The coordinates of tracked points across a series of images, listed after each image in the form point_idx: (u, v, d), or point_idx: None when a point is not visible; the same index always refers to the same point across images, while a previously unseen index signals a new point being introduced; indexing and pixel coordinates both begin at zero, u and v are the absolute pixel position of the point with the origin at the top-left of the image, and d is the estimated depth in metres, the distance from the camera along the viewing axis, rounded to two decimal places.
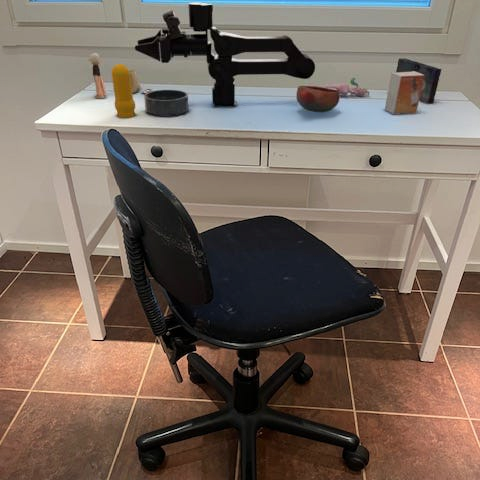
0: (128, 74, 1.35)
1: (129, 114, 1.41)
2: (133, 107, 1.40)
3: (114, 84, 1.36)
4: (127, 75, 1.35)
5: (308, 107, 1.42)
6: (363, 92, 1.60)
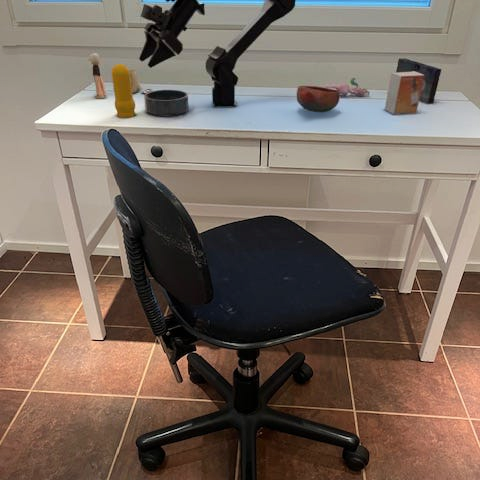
0: (128, 74, 1.35)
1: (129, 114, 1.41)
2: (133, 107, 1.40)
3: (114, 84, 1.36)
4: (127, 75, 1.35)
5: (308, 107, 1.42)
6: (363, 92, 1.60)
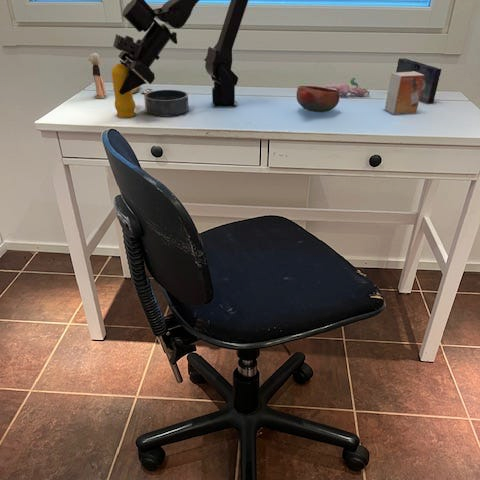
0: None
1: (129, 114, 1.41)
2: (133, 107, 1.40)
3: (114, 84, 1.36)
4: None
5: (308, 107, 1.42)
6: (363, 92, 1.60)
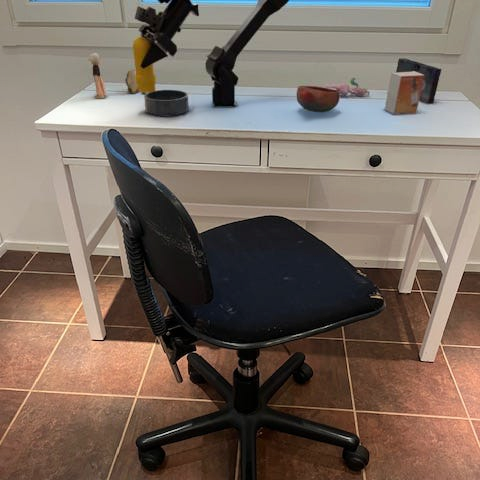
0: None
1: (150, 89, 1.39)
2: (154, 82, 1.38)
3: (135, 58, 1.34)
4: None
5: (308, 107, 1.42)
6: (363, 92, 1.60)
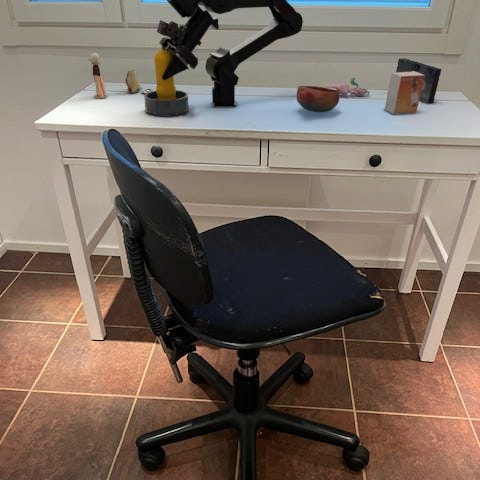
0: None
1: None
2: (174, 93, 1.42)
3: (157, 70, 1.38)
4: None
5: (308, 107, 1.42)
6: (363, 92, 1.60)
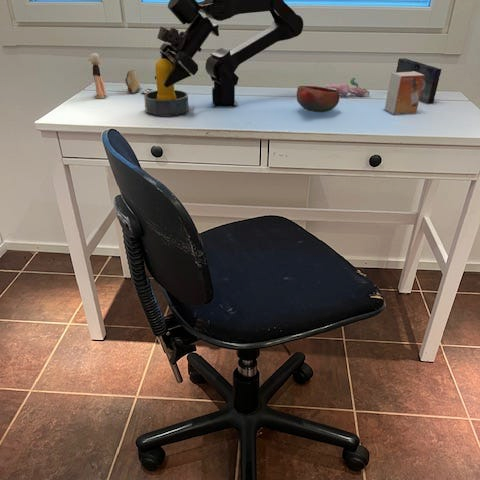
0: (171, 68, 1.38)
1: None
2: None
3: (157, 78, 1.39)
4: None
5: (308, 107, 1.42)
6: (363, 92, 1.60)
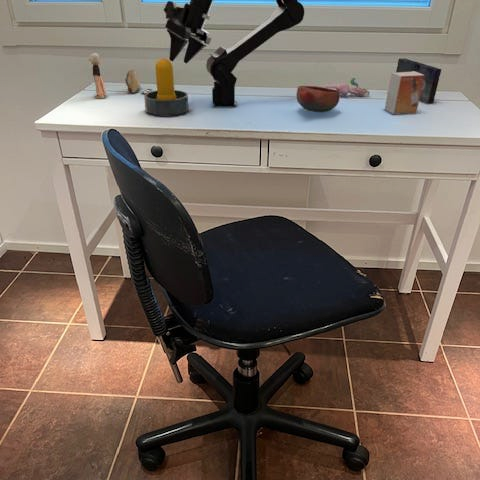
0: (171, 68, 1.38)
1: None
2: None
3: (157, 78, 1.39)
4: (171, 70, 1.38)
5: (308, 107, 1.42)
6: (363, 92, 1.60)
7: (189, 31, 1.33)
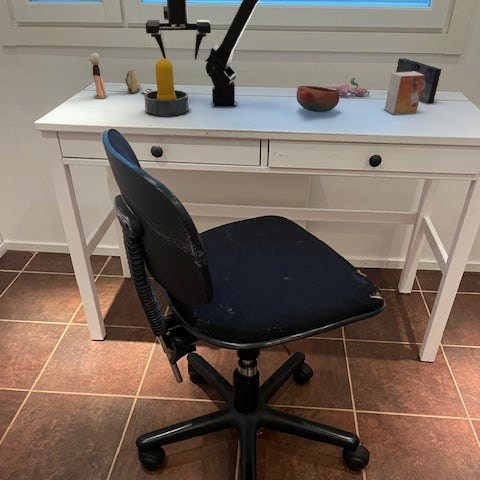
0: (171, 68, 1.38)
1: None
2: None
3: (157, 78, 1.39)
4: (171, 70, 1.38)
5: (308, 107, 1.42)
6: (363, 92, 1.60)
7: (155, 25, 1.39)
